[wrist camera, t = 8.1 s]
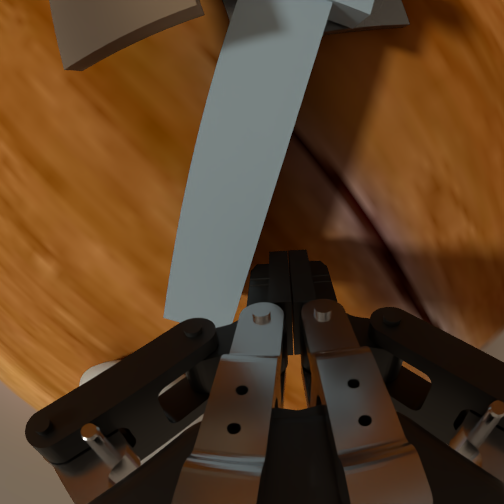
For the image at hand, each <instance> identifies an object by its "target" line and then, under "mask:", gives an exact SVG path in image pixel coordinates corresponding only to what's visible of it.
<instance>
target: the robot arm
mask: <svg viewBox="0 0 504 504" xmlns="http://www.w3.org/2000/svg"><path fill="white" fill-rule="evenodd" d="M288 253H289V264H288ZM288 253H287V251H274V252H269V264H257V265H256V266H255V267H254V268H253V270H252V271H251V275H250V284H249V292H248V300H247V307H246V308H244V309H243V310H242V312H241V313H240V316H239V320H238V321H236V322H234V323H232V324H229V325H225V326H221V327H217V328H216V327H215V324H214V323H213V322H212V321H210V320H208V319H205V318H191V319H187V320H185V321H183V322H181V323H179V324H178V325H176V326H174V327H173V328H171V329H170V330H168V331H167V332H165V333H164V334H162V335H160V336H159V337H157V338H156V339H154V340H153V341H151V342H149V343H148V344H146V345H145V346H143V347H142V348H140V349H138V350H137V351H135V352H134V353H132V354H130V355H129V356H127V357H126V358H124V359H123V360H121V361H119V362H118V363H116V364H115V365H113V366H111V367H110V368H108V369H107V370H105V371H103V372H102V373H100V374H98V375H97V376H95V377H94V378H92V379H90V380H89V381H87V382H86V383H84V384H82V385H81V386H79V387H77V388H76V389H74V390H73V391H71V392H69V393H68V394H66V395H64V396H63V397H61V398H59V399H58V400H56V401H54V402H53V403H51V404H50V405H48V406H46V407H45V408H43V409H41V410H40V411H38V412H36V413H35V414H34V415H33V416H32V417H31V418H30V419H29V421H28V422H27V425H26V429H25V435H26V438H27V440H28V442H29V443H30V444H31V445H32V446H33V447H34V448H35V449H36V450H37V451H38V452H39V453H40V454H41V455H42V456H43V458H44V459H45V460H46V461H47V462H48V463H49V464H51V465H52V466H53V467H54V469H55V471H56V473H57V474H58V476H59V478H60V480H61V482H62V483H63V485H64V487H65V488H66V490H67V492H68V493H69V495H70V497H71V498H72V500H73V502H74V503H75V504H504V362H502V361H500V360H498V359H496V358H494V357H492V356H490V355H489V354H486V353H485V352H483V351H481V350H479V349H477V348H475V347H473V346H471V345H470V344H468V343H466V342H464V341H462V340H460V339H458V338H456V337H454V336H452V335H450V334H448V333H447V332H445V331H443V330H441V329H439V328H437V327H435V326H433V325H431V324H429V323H427V322H425V321H423V320H421V319H419V318H417V317H415V316H414V315H412V314H410V313H408V312H406V311H404V310H401V309H399V308H394V307H384V308H380V309H377V310H376V311H374V312H373V313H372V315H371V317H370V319H368V318H361V317H355V316H352V315H349V314H347V313H346V312H345V309H344V308H343V306H342V305H341V304H340V303H338V302H337V299H336V295H335V292H334V288H333V285H332V282H331V278H330V276H329V271H328V268H327V266H326V265H324V264H323V263H322V262H321V261H309V260H308V255H307V250H290V251H288ZM289 275H290V276H289ZM292 324H293V333H292ZM293 338H294V354H295V355H297V354H301V374H302V380H303V385H304V391H305V397H306V402H307V409H303V410H289V409H283V406H284V395H285V383H286V367H287V365H288V355H293ZM403 361H405V362H406V363H408V364H410V365H411V366H413V367H415V368H417V369H418V370H420V371H422V372H423V373H425V374H426V375H427V376H428V377H429V378H430V380H431V383H432V384H431V383H430V382H428V381H426V380H425V379H423V378H421V377H420V376H418V375H416V374H415V373H413V372H411V371H410V370H408V369H407V368H405V367H403V366H402V362H403ZM184 373H185V374H186V377H184V378H183V379H182V380H180V381H179V382H177V383H176V384H175V385H173V386H172V387H171V388H169V389H168V390H166V391H165V392H164V393H162V394H161V395H159V394H160V392H161V391H162V390H163V389H164V388H165V387H166V386H168V385H169V384H170V383H172V382H173V381H175V380H176V379H177V378H179V377H180V376H182V375H183V374H184ZM203 414H204V415H203ZM201 415H203V419H202V421H200V422H198V423H196V424H194V425H192V426H191V427H189V428H188V429H186V430H185V431H184V432H182V433H181V434H180V435H179V436H178V437H176V438H175V439H174V440H173V441H171V442H170V443H169V444H168V445H166V446H165V447H164V448H163V449H161V450H160V451H159V452H158V453H156V454H155V455H154V456H153V457H151V458H150V459H149V460H147V461H146V462H145V463H143V464H142V465H141V461H142V460H143V459H144V458H146V457H147V456H149V455H150V454H151V453H153V452H154V451H156V450H157V449H158V448H160V447H161V446H162V445H164V444H165V443H166V442H168V441H169V440H170V439H172V438H173V437H174V436H176V435H177V434H178V433H180V432H181V431H182V430H184V429H185V428H186V427H187V426H189V425H190V424H191V423H193V422H194V421H195V420H196V419H198V418H199V417H200V416H201ZM448 445H449V446H448Z"/></svg>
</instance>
